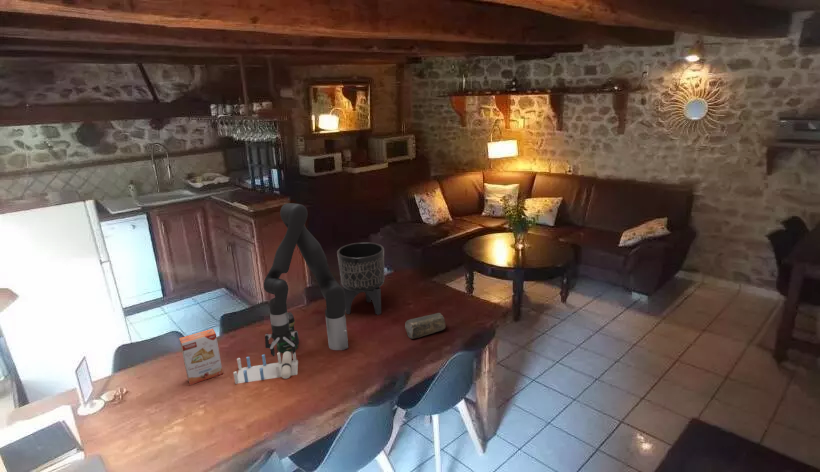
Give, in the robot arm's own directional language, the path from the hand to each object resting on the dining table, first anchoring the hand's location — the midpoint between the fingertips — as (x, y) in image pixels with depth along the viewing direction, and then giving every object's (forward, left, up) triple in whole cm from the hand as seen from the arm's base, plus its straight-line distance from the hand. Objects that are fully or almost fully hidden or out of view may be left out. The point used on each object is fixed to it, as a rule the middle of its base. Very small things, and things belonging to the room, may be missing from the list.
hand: (283, 354), depth 213 cm
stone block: (-68, -16, -9) cm, 71 cm away
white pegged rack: (+8, 0, -8) cm, 11 cm away
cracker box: (+35, -4, -8) cm, 36 cm away
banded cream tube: (-1, 0, -7) cm, 7 cm away
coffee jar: (0, -18, -8) cm, 20 cm away
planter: (-41, -50, -8) cm, 65 cm away
